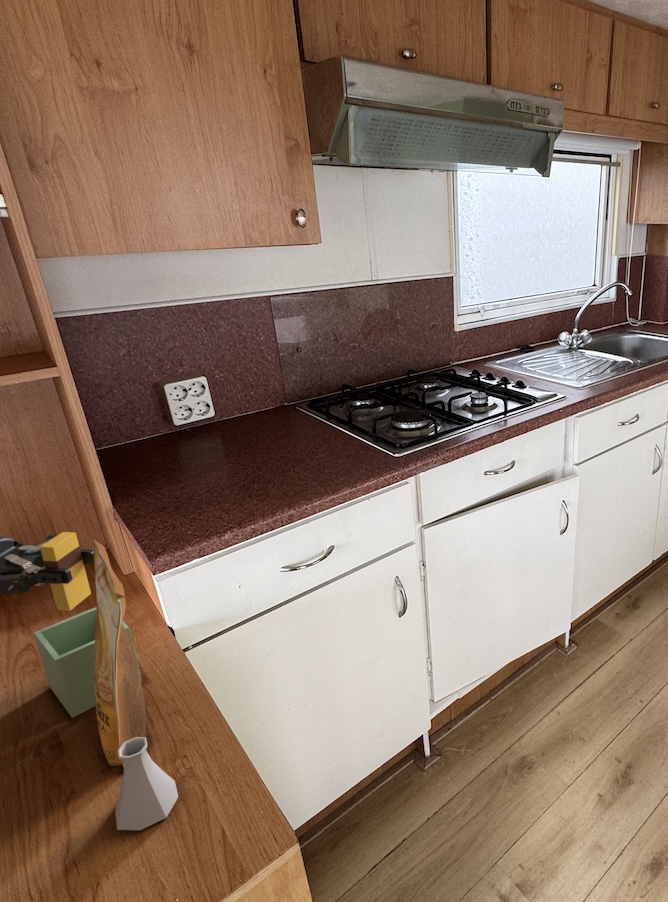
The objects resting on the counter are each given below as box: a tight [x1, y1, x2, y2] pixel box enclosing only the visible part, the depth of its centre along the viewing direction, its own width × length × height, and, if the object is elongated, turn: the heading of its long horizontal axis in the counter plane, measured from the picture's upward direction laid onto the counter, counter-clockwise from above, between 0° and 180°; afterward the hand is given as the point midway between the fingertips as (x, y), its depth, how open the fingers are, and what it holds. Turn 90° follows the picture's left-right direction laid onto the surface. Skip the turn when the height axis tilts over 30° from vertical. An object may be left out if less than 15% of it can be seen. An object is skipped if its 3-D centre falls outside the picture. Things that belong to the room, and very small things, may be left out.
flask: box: [114, 736, 179, 831], centre depth 73 cm, size 7×7×10 cm
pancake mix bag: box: [89, 539, 147, 769], centre depth 82 cm, size 7×19×28 cm, turn 34°
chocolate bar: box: [40, 531, 92, 612], centre depth 88 cm, size 2×5×11 cm, turn 177°
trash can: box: [33, 606, 143, 719], centre depth 93 cm, size 10×10×11 cm
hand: (81, 566), depth 87 cm, fingers closed on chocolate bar, 4 cm apart
